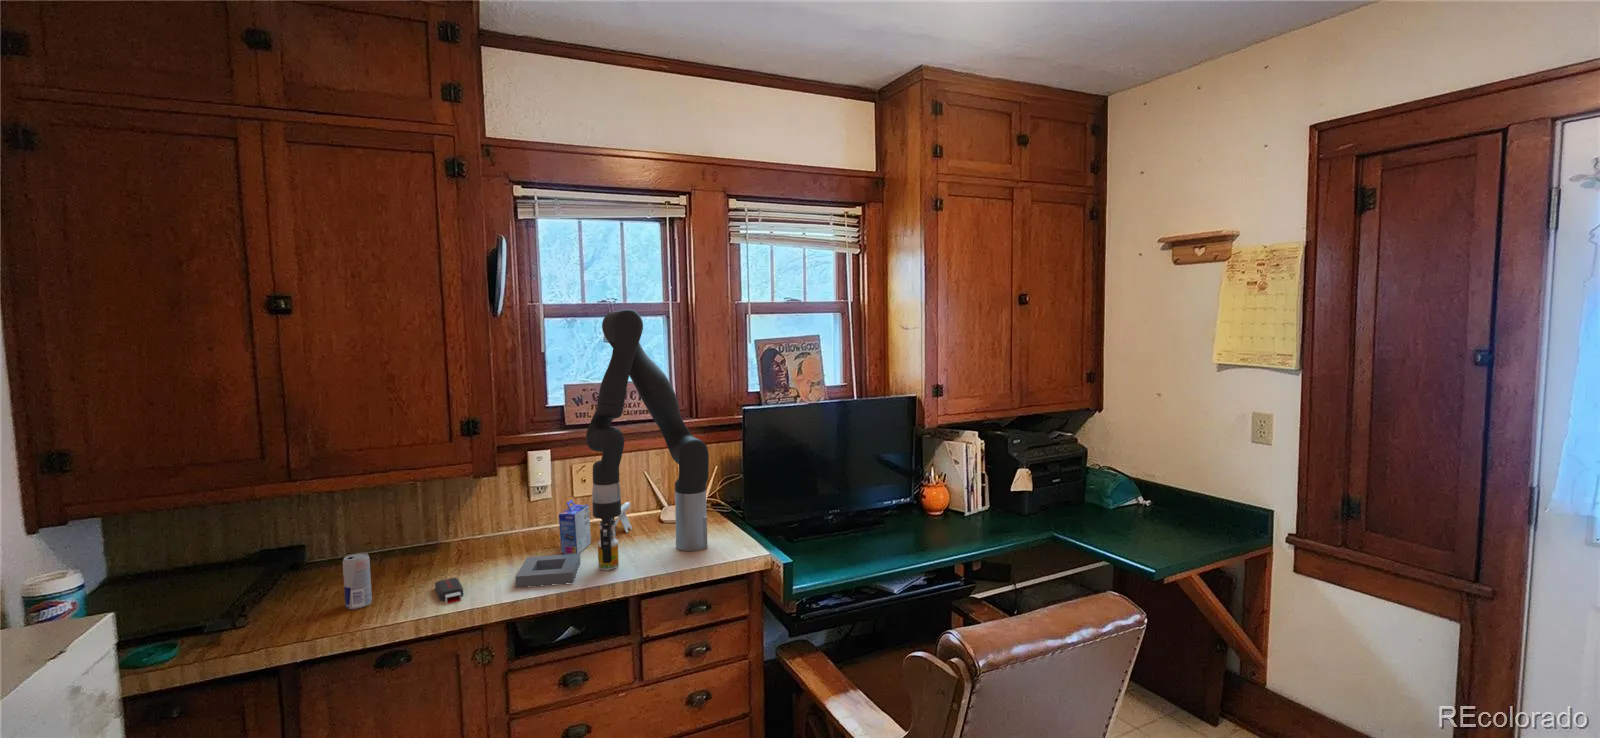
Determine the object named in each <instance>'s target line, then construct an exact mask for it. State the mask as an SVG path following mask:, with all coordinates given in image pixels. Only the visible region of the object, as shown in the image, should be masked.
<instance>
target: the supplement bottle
mask: <svg viewBox="0 0 1600 738" xmlns="http://www.w3.org/2000/svg"><path fill="white" fill-rule="evenodd" d="M610 537H611V535H610ZM604 545H609V543H608V542H604ZM611 555H612V561H611V562H610V563H603V550H601V540H599V541H598V543H597V560H598V562H597V563H598V569H600V570H602V571H611V569H612V570H615V569H617V568H619V565H620V564H619V563H620V562H619V560H620V559H619V541H618V539H617V538H616V531H615V532H614V539H613V540H612V549H611ZM614 568H615V569H614Z"/></svg>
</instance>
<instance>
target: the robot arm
mask: <svg viewBox="0 0 1600 738" xmlns="http://www.w3.org/2000/svg"><path fill="white" fill-rule="evenodd" d="M601 329H602V333H603V335H604V337H605V339H606V341H607V342H608V344H610V346H611V348H612V353H611V358H610V361H609V363H608V366H607V368H606V371H605V372H604V374H603V378H602V381H601V384H600V387H599V392H598V396H597V397H598V399H597V403H596V410H595V411H594V414H593V415H592V417H591V420H590V423H589V425H588V427H587V430H586V434H585V441H586V445H587V447H588V448H589V450H592V451H593V452H594V451H595V452H599V453H600V452H601V453H602V456H601V459H600V460H597V461H595V462H594V463H593V465H592V489H591V492H592V493H591V495H592V496H591V497H592V499H591V501H592V516H593V518H594V519H601V520H600V522H599V524H598V525H599V527H598V528H599V537H600V538H599V539H600V540H601V550H603V563H610V562H611V561H612V555H611V549H612V540H613V539H614V532H615V533H616V526H615V522H616V519H615V518H616V517H618V516H619V515H620V514H621V506H622V496H621V495H622V493H621V492H622V489H621V484H620V464H621V461H622V457H623V456H622V455H623V452H624V448H625V437H624V434H623V432H622V430H620V429H619V428H617V427H613V426H611V424H612V422H613V421H614V420H615V419H619V418H621V416H622V415H623V411H624V406H625V401H626V393H627V389H628V383H629V378H630V380H631V381H632V383H633V385H634V387H635V388H636V391H637V393H638V396H639V397H640V399H641V401H642V403H643V404H644V406H645V408H646V409H647V411H648V413H649V414H650V416H651V417H652V419H653V421H654V422H655V423H656V425H657V426H658V428H659V430H660V432H661V434H662V437H663V439H664V440H665V443H666V446H667V449H668V451H669V453H670V456H671V458H672V459H673V462H675V463H676V464H677V465H678V479H676V480H675V482H674V504H675V505H674V506H675V507H674V509H675V511H674V512H675V548H676V549H677V550H678V551H682V552H696V551H700V550H704V549H708V516H707V515H708V514H707V483H708V481H709V465H710V464H709V463H710V461H709V459H710V458H709V457H710V456H709V448H708V447H707V445H706V443H705V442H704V441H703V440H701V439H700V438H696V437H695V436H694V435H693V434H692V433H691V432H690V430H689V428H688V427H687V425H686V424H685V422H684V419H683V418H682V415H681V412H680V407H679V402H678V398H677V394H676V392H675V390H674V388H673V386H672V384H671V383H670V380H669V379H668V377H667V375H666V374H665V372H664V371H663V370H662V369H661V368H660V367H659V365H657V363H656V362H655V361H654V360H653V359H652V358H651V357H650V356H649V355H648V354H647V353H646V351H645V350H644V349H643V347H642V345H641V343H640V341H641V337H642V334H643V330H644V321H643V318H642V317H641V315H640V314H639V313H638V312H637V311H636V310H633V309H620V310H615V311H612V312H609V313H608V314H606V315H605V316H604V318H603V319H602V323H601ZM610 535H611V537H610ZM600 540H599V541H600ZM604 542H608V543H609V545H604Z"/></svg>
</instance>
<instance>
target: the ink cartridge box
mask: <svg viewBox="0 0 1600 738" xmlns="http://www.w3.org/2000/svg"><path fill="white" fill-rule="evenodd" d="M565 504H566V506H567V509H565V510H563V511H562V512H560V513H559V514H558V523H559V524H558V525H559V538H560V552H561V554H562V553H564V554H563V555H566V554H578V553H579V554H581V552H582V551H584V550H585V549H586V548H587V547H588V546H590V545H591V543H592V542H591V541H592V539H591V524H590V523H591V522H590V521H591V520H590V507H589V504H576V503H574V501H573V500H572V499H570V500H569V501H567V502H566V503H565ZM571 504H572V505H571Z"/></svg>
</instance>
